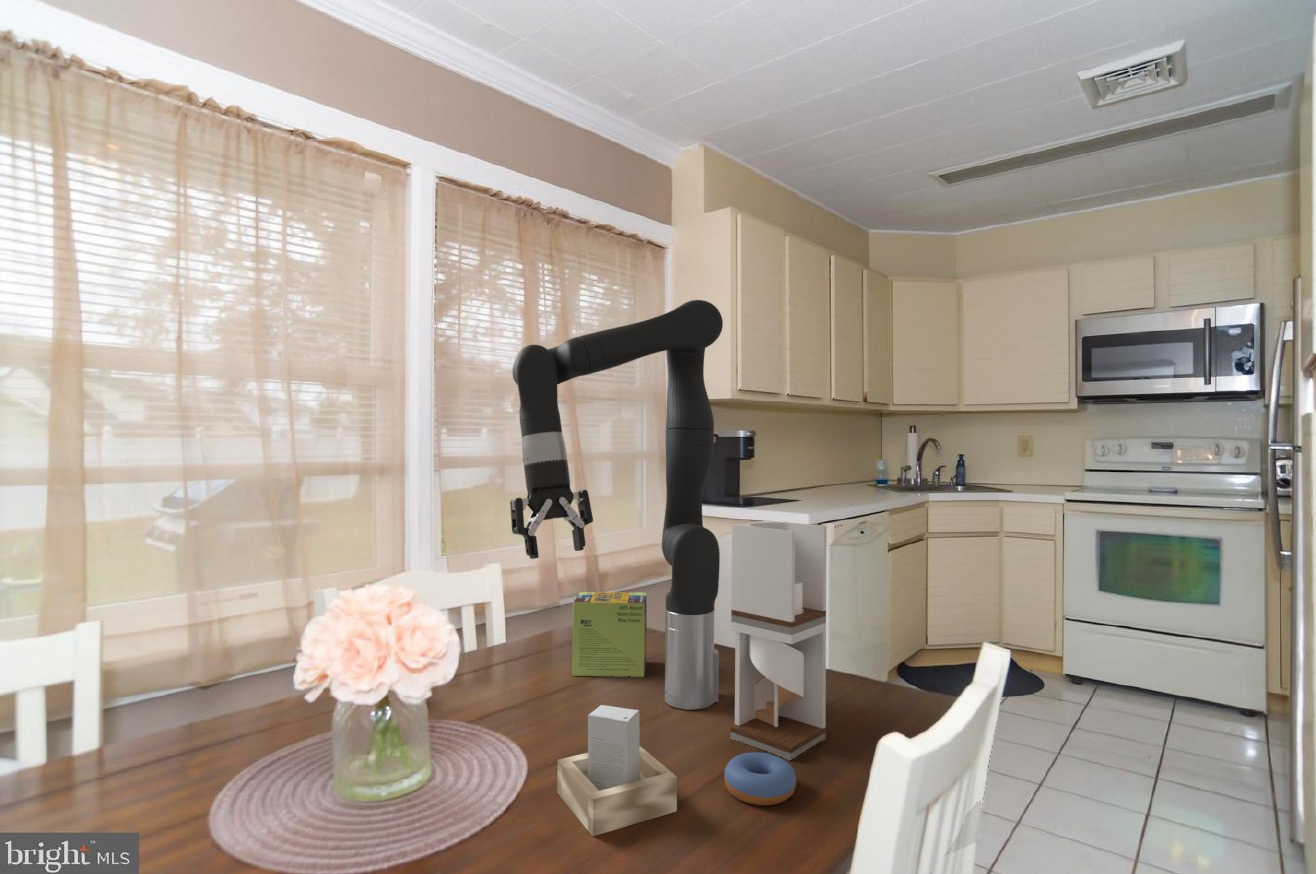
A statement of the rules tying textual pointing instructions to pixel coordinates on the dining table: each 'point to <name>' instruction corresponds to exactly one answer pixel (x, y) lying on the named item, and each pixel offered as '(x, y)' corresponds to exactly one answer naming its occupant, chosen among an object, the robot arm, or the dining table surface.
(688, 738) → the dining table surface
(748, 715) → the white shelf tower
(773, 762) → the doughnut
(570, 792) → the frame
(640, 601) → the protein box
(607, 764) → the skincare box
